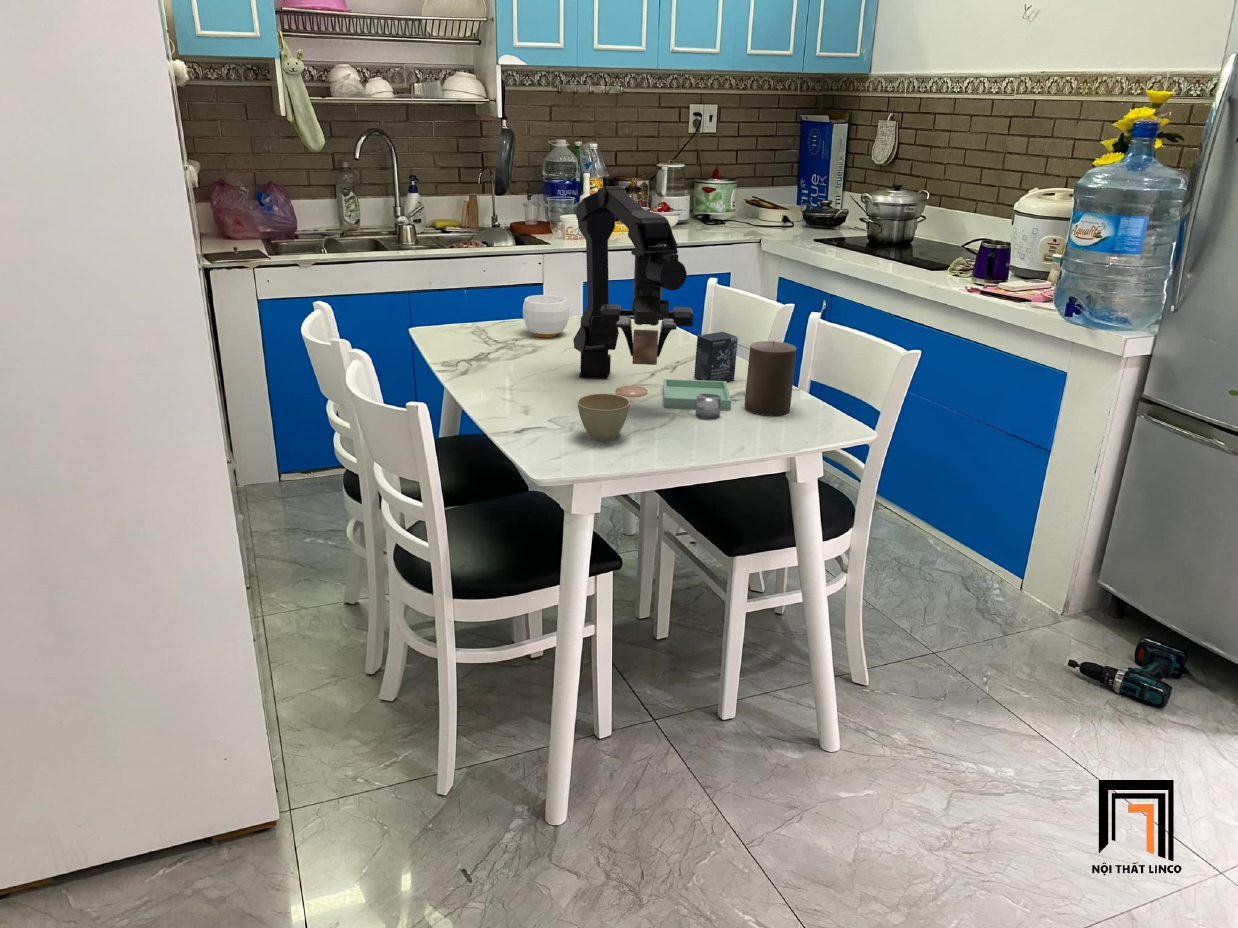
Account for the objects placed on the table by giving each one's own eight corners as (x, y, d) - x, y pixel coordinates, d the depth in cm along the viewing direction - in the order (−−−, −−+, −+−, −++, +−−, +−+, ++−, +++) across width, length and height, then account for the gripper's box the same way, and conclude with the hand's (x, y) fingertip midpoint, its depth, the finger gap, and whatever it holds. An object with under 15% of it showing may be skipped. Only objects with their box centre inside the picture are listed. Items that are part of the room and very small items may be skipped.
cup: (567, 341, 246) (567, 305, 243) (520, 340, 246) (520, 303, 243) (570, 330, 258) (570, 295, 254) (525, 328, 258) (525, 293, 254)
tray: (663, 407, 198) (664, 398, 197) (663, 387, 211) (663, 378, 210) (730, 410, 198) (731, 400, 197) (725, 390, 210) (726, 381, 210)
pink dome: (615, 398, 204) (615, 394, 204) (616, 388, 211) (616, 385, 210) (647, 399, 204) (647, 395, 204) (647, 389, 211) (647, 386, 210)
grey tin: (696, 419, 192) (697, 400, 190) (695, 411, 196) (696, 393, 195) (720, 420, 192) (721, 401, 190) (718, 412, 196) (720, 394, 195)
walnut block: (632, 364, 192) (633, 335, 190) (632, 357, 197) (634, 329, 195) (656, 364, 192) (658, 336, 190) (656, 358, 197) (658, 330, 194)
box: (708, 385, 214) (711, 340, 210) (693, 379, 218) (696, 334, 214) (735, 380, 218) (738, 336, 214) (719, 374, 222) (722, 330, 218)
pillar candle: (780, 419, 193) (788, 348, 188) (736, 410, 197) (743, 341, 192) (796, 407, 201) (804, 339, 196) (753, 399, 205) (760, 332, 200)
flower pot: (575, 427, 185) (576, 393, 182) (626, 427, 185) (627, 393, 183) (578, 446, 175) (578, 409, 173) (631, 445, 176) (632, 409, 174)
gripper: (599, 287, 181) (597, 365, 187) (696, 290, 181) (691, 368, 186) (602, 276, 191) (600, 350, 197) (694, 279, 191) (689, 354, 197)
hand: (644, 356), depth 194 cm, fingers closed on walnut block, 5 cm apart
